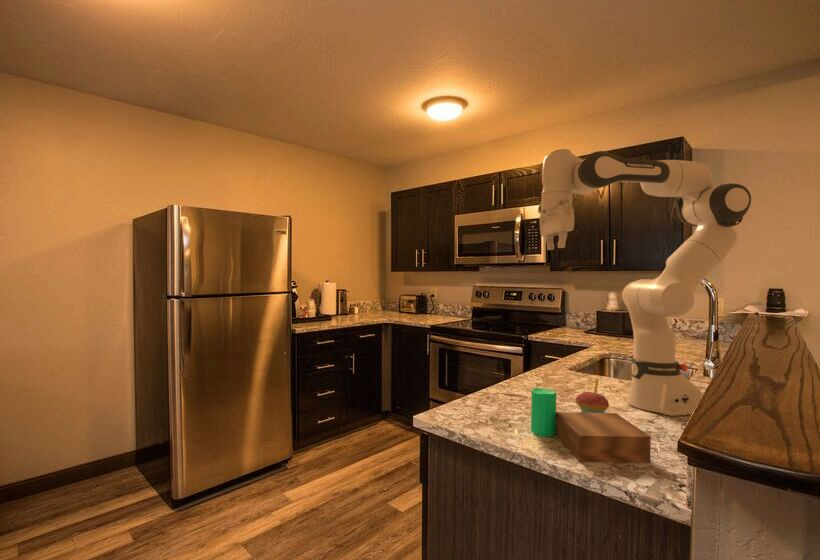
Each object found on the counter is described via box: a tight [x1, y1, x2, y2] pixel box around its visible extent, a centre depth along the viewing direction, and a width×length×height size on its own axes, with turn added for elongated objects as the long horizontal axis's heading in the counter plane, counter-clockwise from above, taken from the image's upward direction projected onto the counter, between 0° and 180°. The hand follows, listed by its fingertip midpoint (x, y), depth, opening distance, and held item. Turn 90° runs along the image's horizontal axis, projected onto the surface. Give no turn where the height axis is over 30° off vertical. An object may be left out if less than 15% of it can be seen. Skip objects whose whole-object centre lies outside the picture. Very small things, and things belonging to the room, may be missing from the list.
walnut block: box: [554, 411, 652, 464], centre depth 95 cm, size 15×15×6 cm
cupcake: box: [575, 377, 610, 413], centre depth 115 cm, size 9×8×12 cm
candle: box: [530, 387, 557, 437], centre depth 104 cm, size 6×6×12 cm
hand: (555, 248), depth 126 cm, fingers open, 8 cm apart
